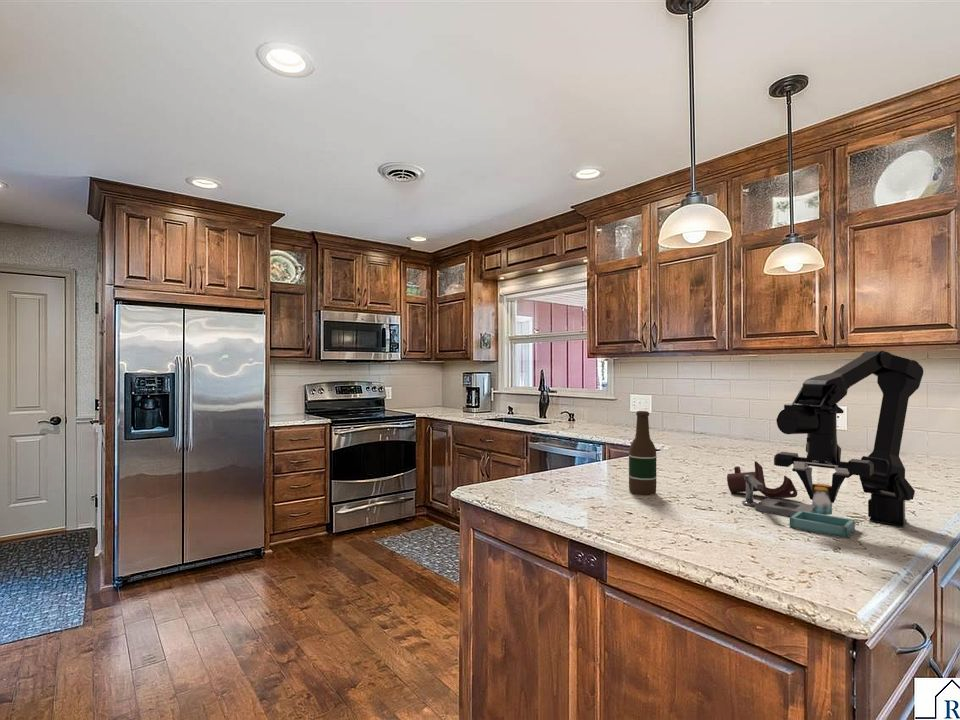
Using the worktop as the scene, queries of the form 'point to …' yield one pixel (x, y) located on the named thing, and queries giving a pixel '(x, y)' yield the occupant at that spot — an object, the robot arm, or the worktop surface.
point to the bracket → (739, 484)
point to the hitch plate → (774, 504)
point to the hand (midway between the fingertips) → (822, 500)
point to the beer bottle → (642, 459)
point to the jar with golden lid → (821, 499)
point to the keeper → (753, 481)
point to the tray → (822, 524)
